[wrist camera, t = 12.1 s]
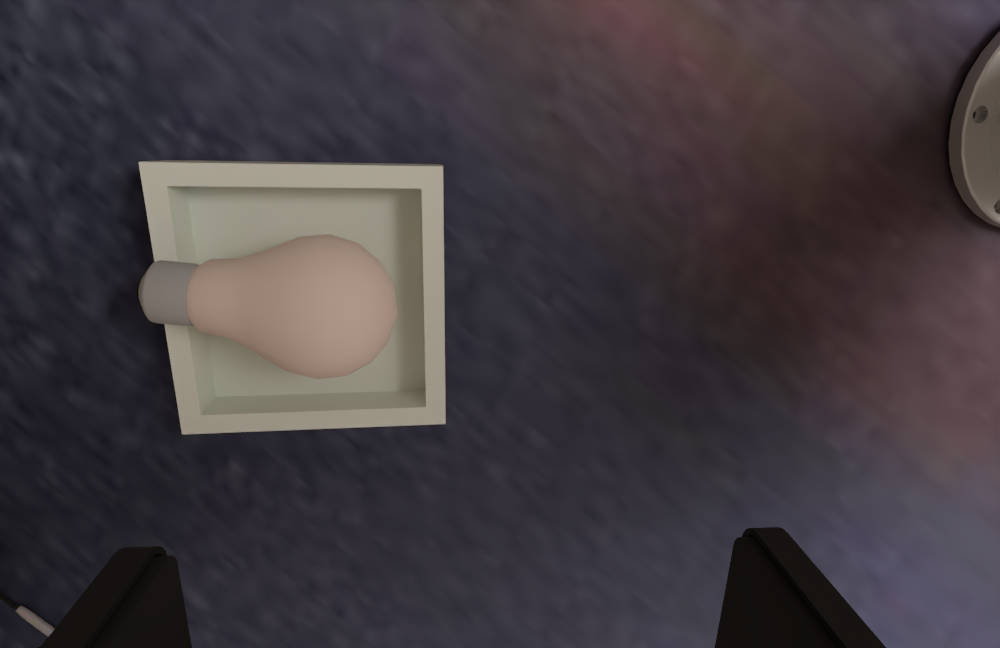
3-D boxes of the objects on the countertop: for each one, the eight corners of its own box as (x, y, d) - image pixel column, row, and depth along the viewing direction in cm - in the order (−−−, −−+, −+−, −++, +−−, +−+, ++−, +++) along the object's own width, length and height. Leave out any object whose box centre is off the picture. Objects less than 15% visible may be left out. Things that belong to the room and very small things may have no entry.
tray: (441, 164, 29) (443, 166, 26) (443, 399, 33) (445, 423, 30) (167, 160, 28) (138, 161, 25) (203, 408, 31) (182, 434, 29)
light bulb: (93, 378, 22) (388, 399, 24) (103, 203, 21) (403, 237, 23) (165, 355, 28) (392, 373, 30) (175, 220, 28) (404, 246, 30)
